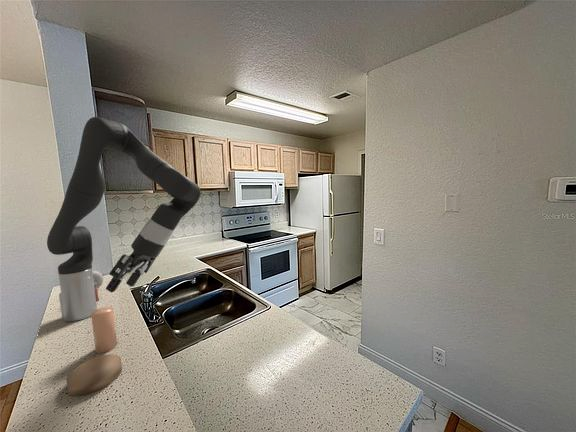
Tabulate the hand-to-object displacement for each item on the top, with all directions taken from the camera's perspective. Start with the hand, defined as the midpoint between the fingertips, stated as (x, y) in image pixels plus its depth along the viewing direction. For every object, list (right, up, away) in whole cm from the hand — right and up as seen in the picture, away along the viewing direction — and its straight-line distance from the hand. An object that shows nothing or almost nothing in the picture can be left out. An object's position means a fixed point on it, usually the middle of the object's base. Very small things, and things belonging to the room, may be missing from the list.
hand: (120, 287), depth 66 cm
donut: (-46, -16, +45) cm, 66 cm away
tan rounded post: (-5, -18, +2) cm, 19 cm away
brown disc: (+1, -19, -10) cm, 21 cm away
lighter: (-37, -16, +35) cm, 54 cm away
